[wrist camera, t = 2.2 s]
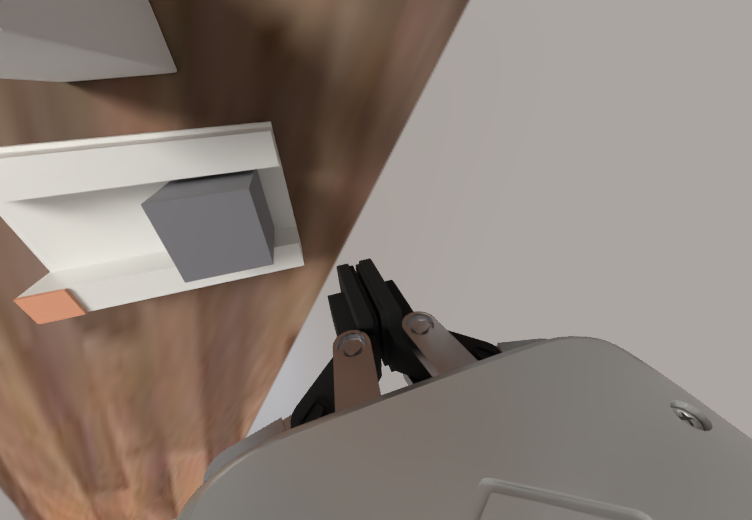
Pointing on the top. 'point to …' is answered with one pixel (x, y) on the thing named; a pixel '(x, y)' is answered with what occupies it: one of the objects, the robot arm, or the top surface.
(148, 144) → the chute
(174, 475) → the top surface
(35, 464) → the top surface
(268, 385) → the top surface
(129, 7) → the milk carton
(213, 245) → the block
